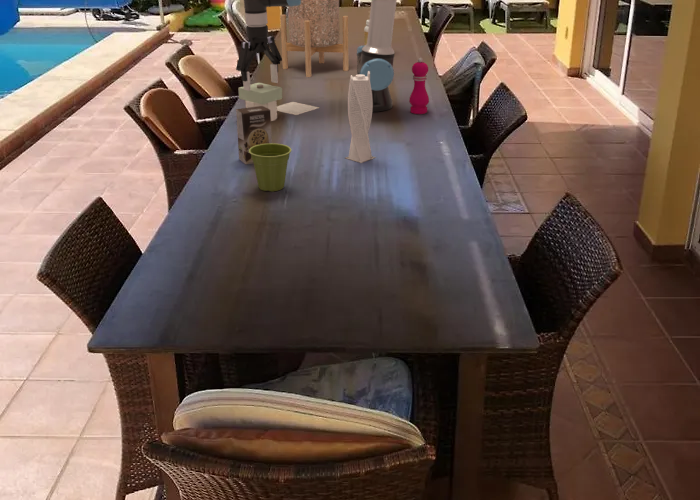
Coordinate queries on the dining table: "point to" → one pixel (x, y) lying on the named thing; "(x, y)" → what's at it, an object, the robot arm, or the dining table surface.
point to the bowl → (271, 106)
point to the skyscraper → (360, 117)
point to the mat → (295, 108)
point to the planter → (314, 31)
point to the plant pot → (270, 165)
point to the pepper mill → (419, 88)
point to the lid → (261, 93)
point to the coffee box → (252, 130)
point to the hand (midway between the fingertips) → (261, 86)
